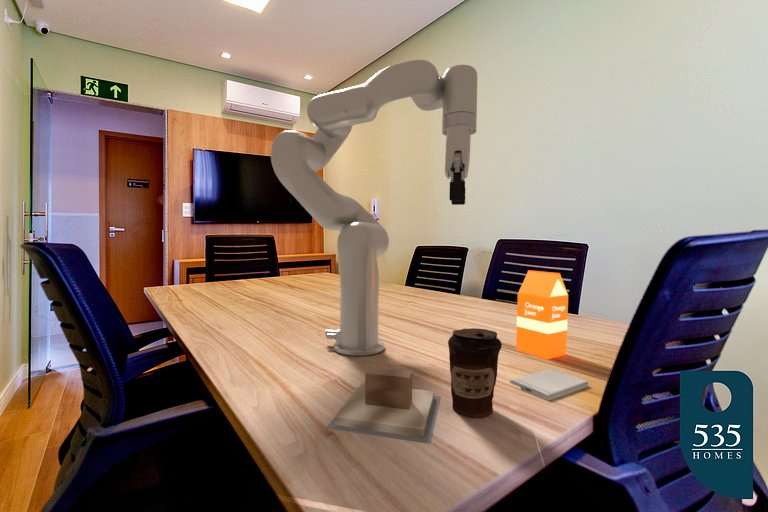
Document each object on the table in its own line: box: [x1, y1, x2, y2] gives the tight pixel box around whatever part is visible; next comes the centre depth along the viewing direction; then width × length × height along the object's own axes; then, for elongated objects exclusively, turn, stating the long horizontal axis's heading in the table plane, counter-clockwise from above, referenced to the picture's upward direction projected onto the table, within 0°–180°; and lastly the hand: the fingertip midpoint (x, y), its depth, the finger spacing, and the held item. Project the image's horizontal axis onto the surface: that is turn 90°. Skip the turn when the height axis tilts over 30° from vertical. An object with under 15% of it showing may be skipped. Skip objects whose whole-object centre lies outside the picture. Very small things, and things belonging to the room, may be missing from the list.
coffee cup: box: [447, 327, 503, 420], centre depth 59 cm, size 9×8×13 cm
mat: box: [325, 386, 441, 444], centre depth 59 cm, size 15×15×1 cm
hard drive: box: [509, 368, 589, 402], centre depth 70 cm, size 2×8×12 cm
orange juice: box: [515, 269, 569, 360], centre depth 91 cm, size 8×9×20 cm
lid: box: [334, 366, 435, 438], centre depth 58 cm, size 13×13×6 cm
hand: (457, 202), depth 83 cm, fingers open, 9 cm apart
